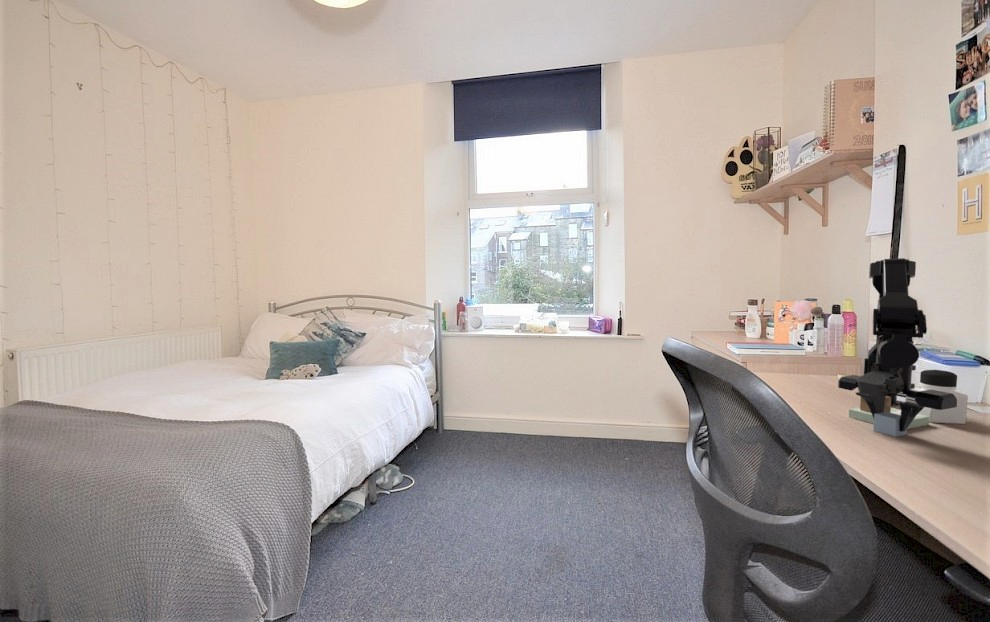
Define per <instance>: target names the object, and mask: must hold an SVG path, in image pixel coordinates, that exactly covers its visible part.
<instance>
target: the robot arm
mask: <svg viewBox="0 0 990 622" xmlns="http://www.w3.org/2000/svg"><path fill="white" fill-rule="evenodd" d="M916 265H917V262H916V261H913V260H910V259H908V258H907V259H906V258H905V257H903V258H884V259H881V260H876V261H875V262H871V263H870V264H869V273H868V275H869V277H868V279H872V282H871V283H872V286H873V288H875V290H876V291H877V292H878V300H877V308H873V311H872V335H873V336H875V337H876V339H875V344H874V345H873V346H872V347H870V348H869V350H868V352H867V358H863V359H864V360H863V370H862V371H863V372H862V374H863V375H858V374H857V375H856V374H852V375H844V376H841V377H840V378H839V379H838V381H837V387H838V389H842V390H846V391H854V390H855V389H857V392H855V395H856V396H859V397H860V398H861V397H862V398H863V399H864V400H865V401H866V402H867V404H868V406H869V408H870V411H871V413H872V416H873V418H874V414H875V413H881V412H884V404H885V397H886V396H889V397H891V407H892V406H897V405H898V406H899V407H900V410H901V416H900V425H899V426H900V431H901V432H904V431H905V430H906V429H907V428H908V426H909V425H910V423H911V422H912V421H913V419H914V418H915V417H916V415H917V414H918V413H919V412H920V411H921V410H922V409H923V408H924V407H927V408H932V409H937V410H944V409H949V408H955V407H957V398H956V397H955V396H954V395H953V394H952V393H947V392H942V391H936V390H925V391H914V390H911V389H913V388H914V387H916V386H915V385H916V384H915V383H912V375H913V374H912V373H913V371H916V367H917V366H916V363H917V362H918V360H919V358H920V353H919V350H918V348H917V347H916V345H914V342H915V341H914V340H913V338H921V339H922V338H924V335H927V332H928V328H927V318H926V314H924V311H923V309H919V307H918V305H919V304H918V301H917V299H916V298H913V297H912V296H910V295H909V287H910V285H911V279H913V278H915V277H916V271H917V270H916V268H917V267H916ZM898 397H902V398H905V401H902V400H897V399H898ZM907 430H908V429H907Z"/></svg>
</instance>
